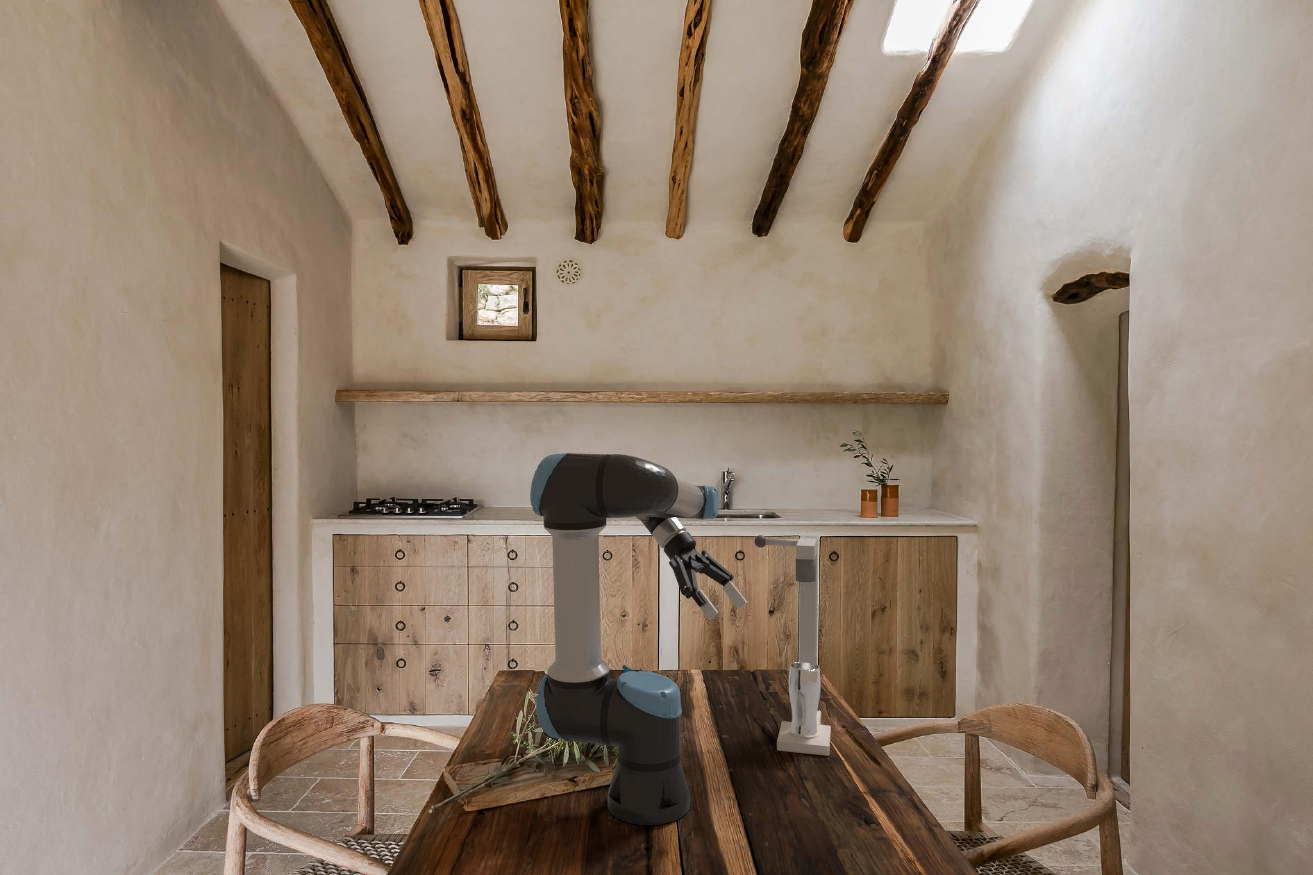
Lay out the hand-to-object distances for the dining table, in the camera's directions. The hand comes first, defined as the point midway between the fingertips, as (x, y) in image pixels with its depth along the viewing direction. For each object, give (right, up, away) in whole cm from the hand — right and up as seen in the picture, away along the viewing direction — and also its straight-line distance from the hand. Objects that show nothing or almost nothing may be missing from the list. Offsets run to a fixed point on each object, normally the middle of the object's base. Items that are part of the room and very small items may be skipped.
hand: (729, 611), depth 175 cm
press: (+14, -28, 0) cm, 31 cm away
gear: (-22, -28, +28) cm, 45 cm away
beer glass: (+16, -26, -5) cm, 31 cm away
